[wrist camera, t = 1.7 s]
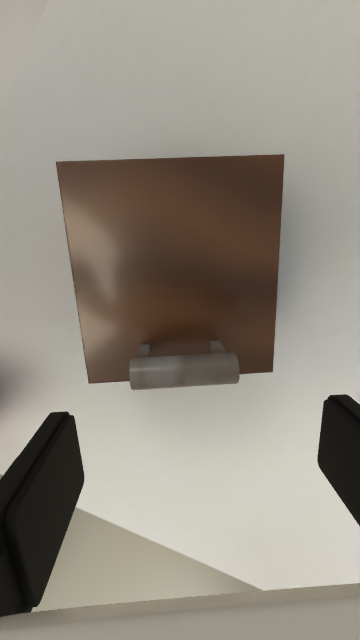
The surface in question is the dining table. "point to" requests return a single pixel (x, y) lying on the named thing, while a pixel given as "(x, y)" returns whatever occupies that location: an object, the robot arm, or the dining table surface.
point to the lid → (174, 266)
